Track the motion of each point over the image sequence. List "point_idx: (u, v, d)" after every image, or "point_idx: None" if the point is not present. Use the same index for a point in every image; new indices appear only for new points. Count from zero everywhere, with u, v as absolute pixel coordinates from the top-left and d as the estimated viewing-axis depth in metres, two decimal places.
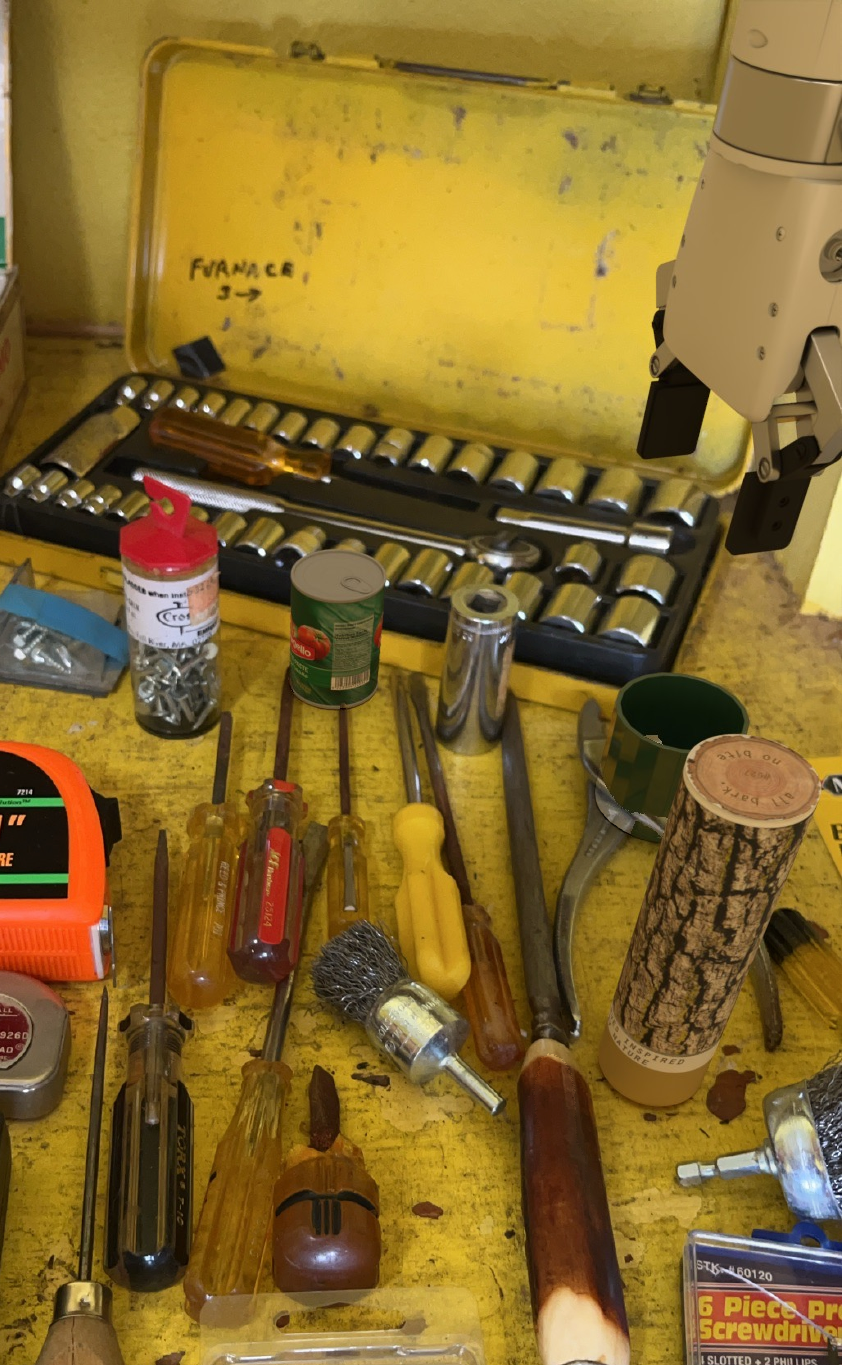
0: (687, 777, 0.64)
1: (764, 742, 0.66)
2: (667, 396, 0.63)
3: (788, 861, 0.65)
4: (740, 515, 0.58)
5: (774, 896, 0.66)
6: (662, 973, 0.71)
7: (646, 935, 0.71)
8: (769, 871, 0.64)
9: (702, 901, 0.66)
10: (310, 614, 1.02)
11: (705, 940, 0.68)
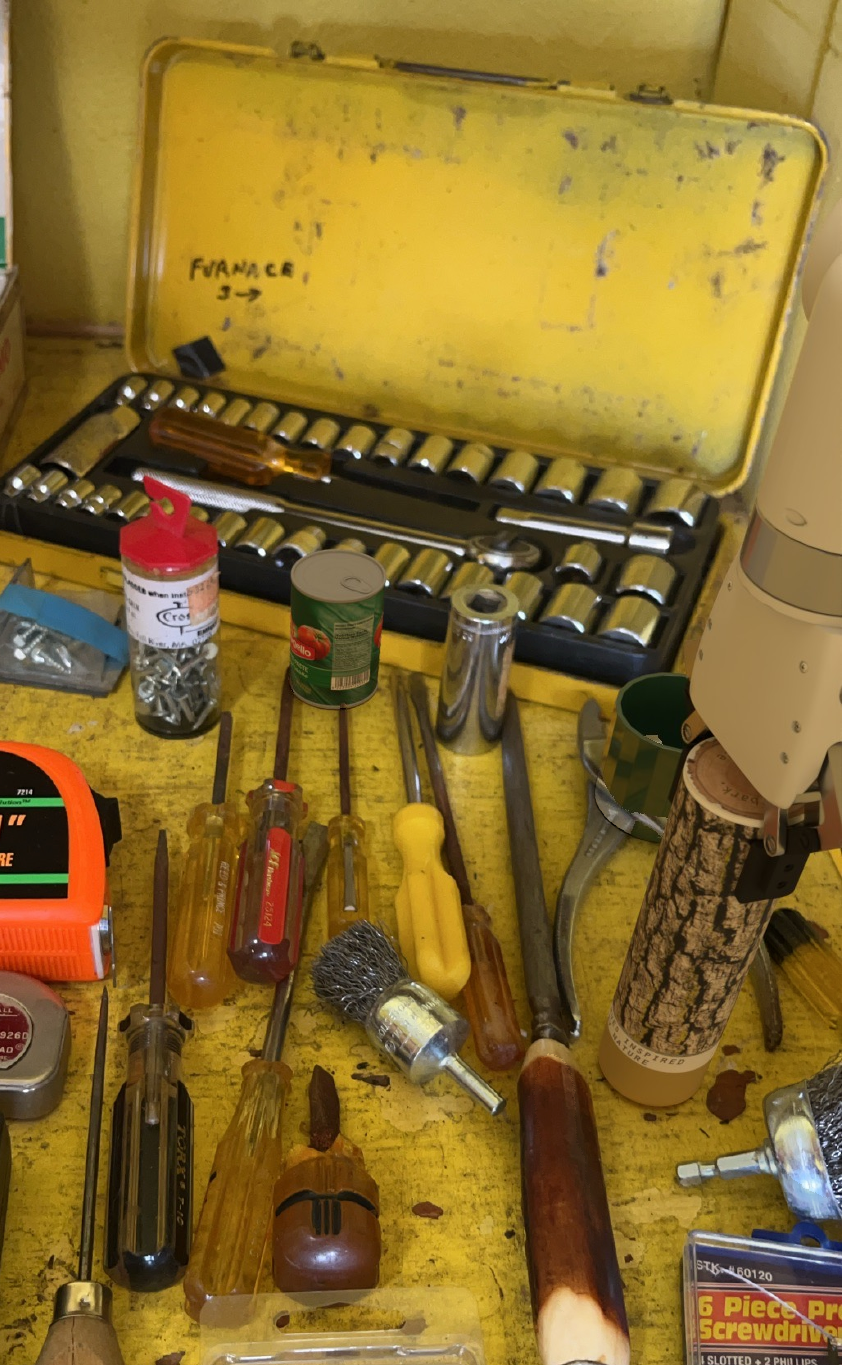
0: (687, 777, 0.64)
1: None
2: None
3: None
4: (748, 875, 0.63)
5: None
6: (662, 973, 0.71)
7: (646, 935, 0.71)
8: None
9: (702, 901, 0.66)
10: (310, 614, 1.02)
11: (705, 940, 0.68)
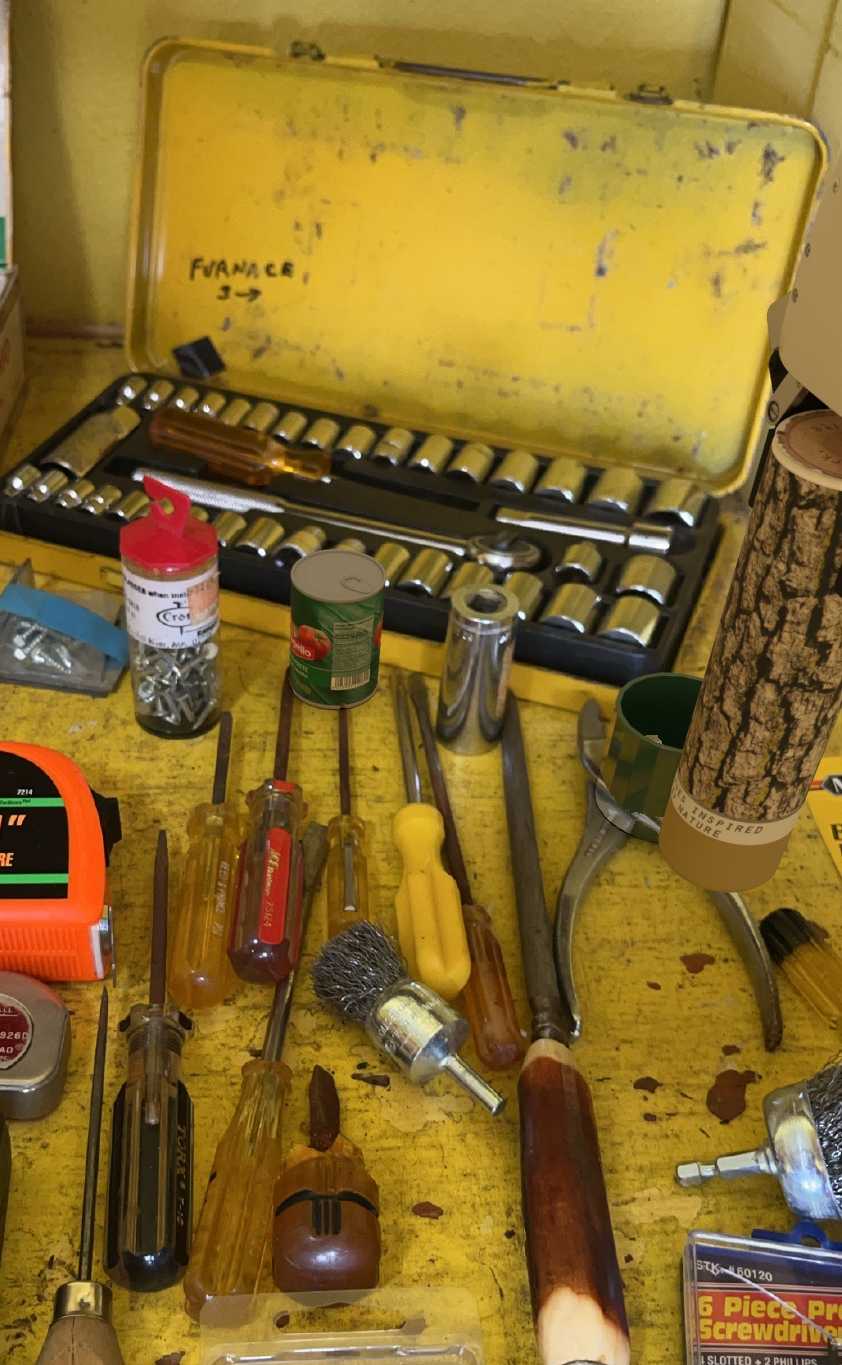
0: (778, 448, 0.54)
1: None
2: None
3: None
4: None
5: None
6: (740, 712, 0.61)
7: (722, 668, 0.61)
8: None
9: (794, 605, 0.57)
10: (310, 614, 1.02)
11: (795, 659, 0.58)
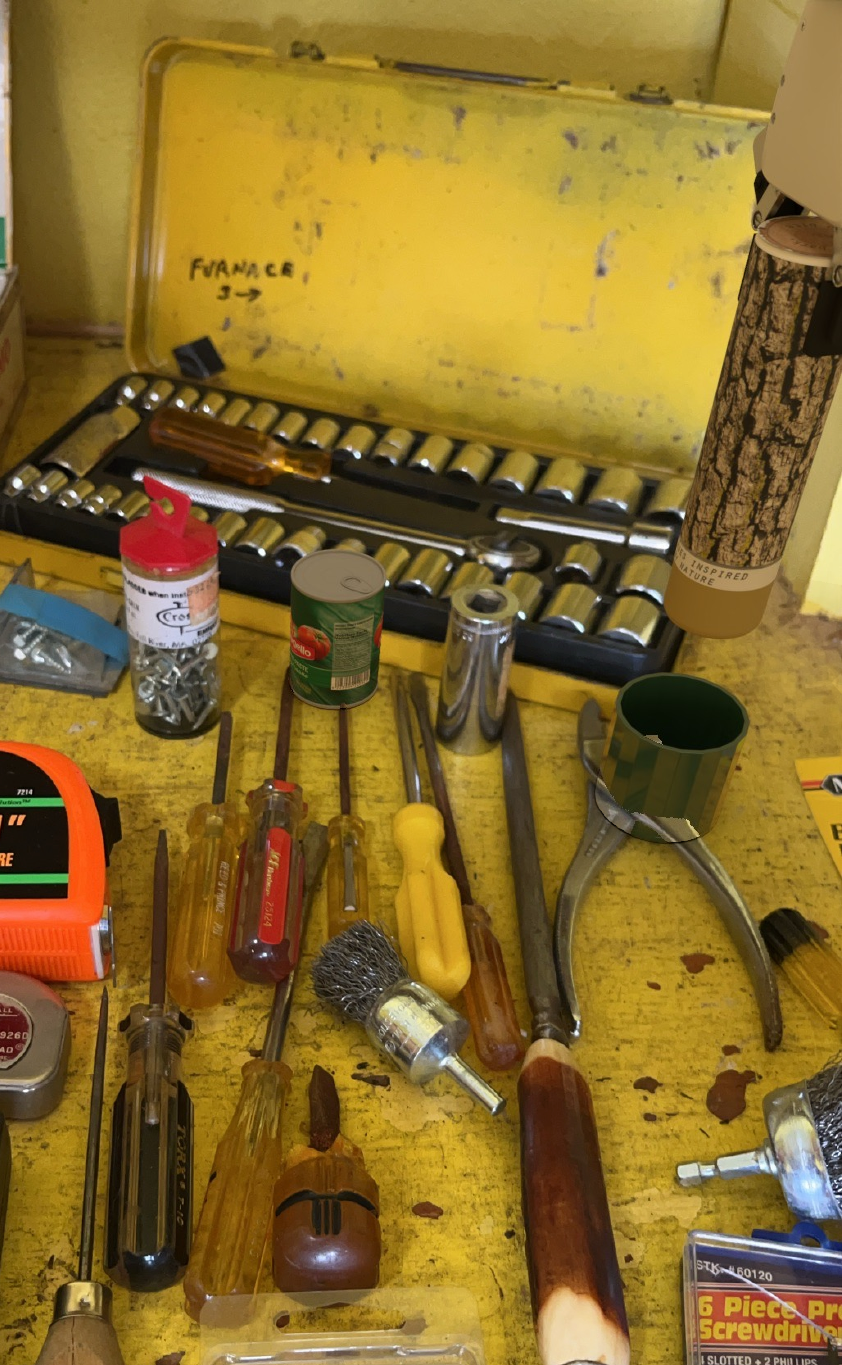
0: (759, 238, 0.70)
1: None
2: None
3: None
4: (817, 319, 0.69)
5: (837, 364, 0.73)
6: (730, 467, 0.77)
7: (715, 433, 0.77)
8: None
9: (771, 367, 0.72)
10: (310, 614, 1.02)
11: (773, 416, 0.74)
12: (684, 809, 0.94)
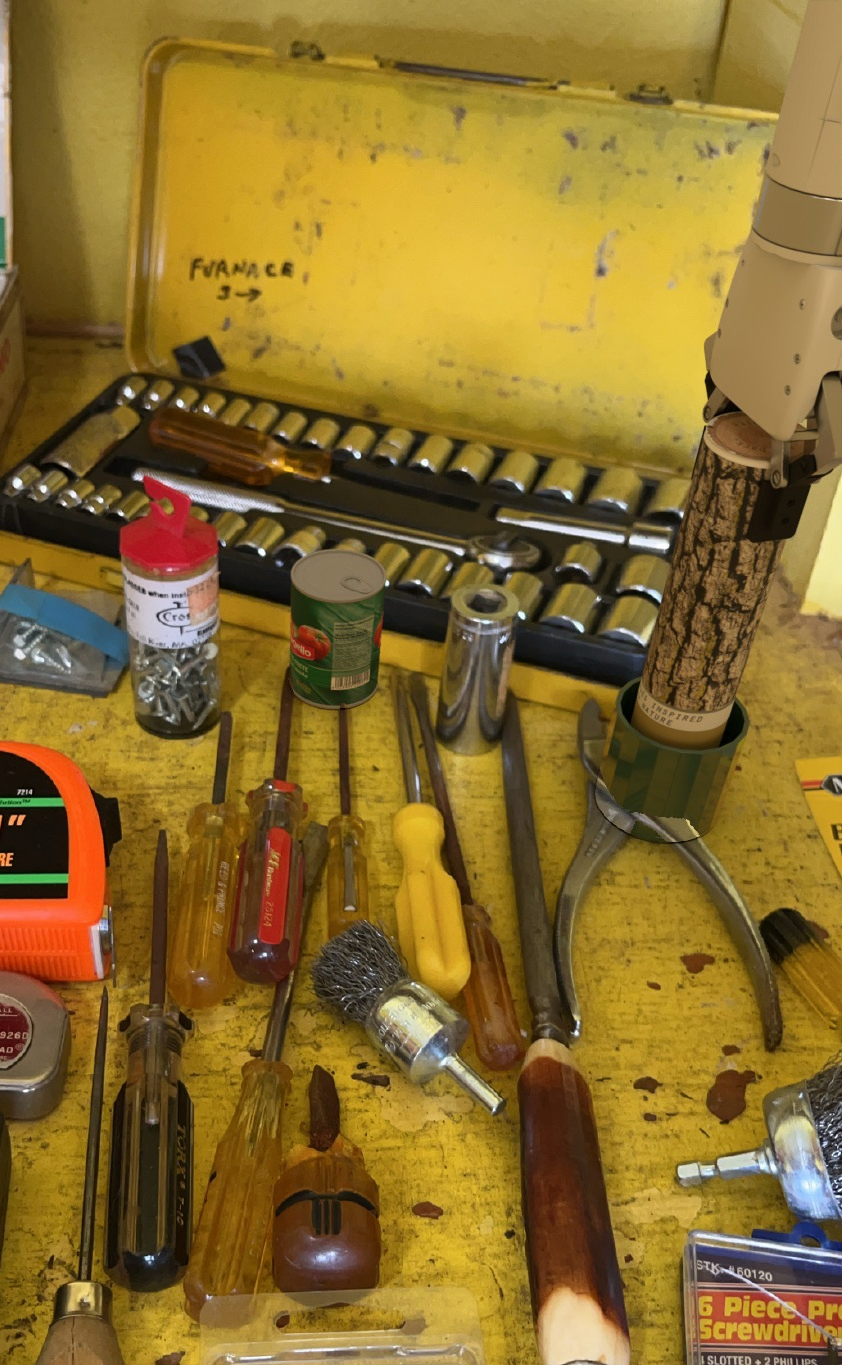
0: (707, 437, 0.78)
1: None
2: None
3: None
4: (758, 512, 0.78)
5: (778, 545, 0.81)
6: (684, 628, 0.86)
7: (671, 596, 0.86)
8: None
9: (719, 548, 0.81)
10: (310, 614, 1.02)
11: (721, 587, 0.83)
12: (684, 809, 0.94)
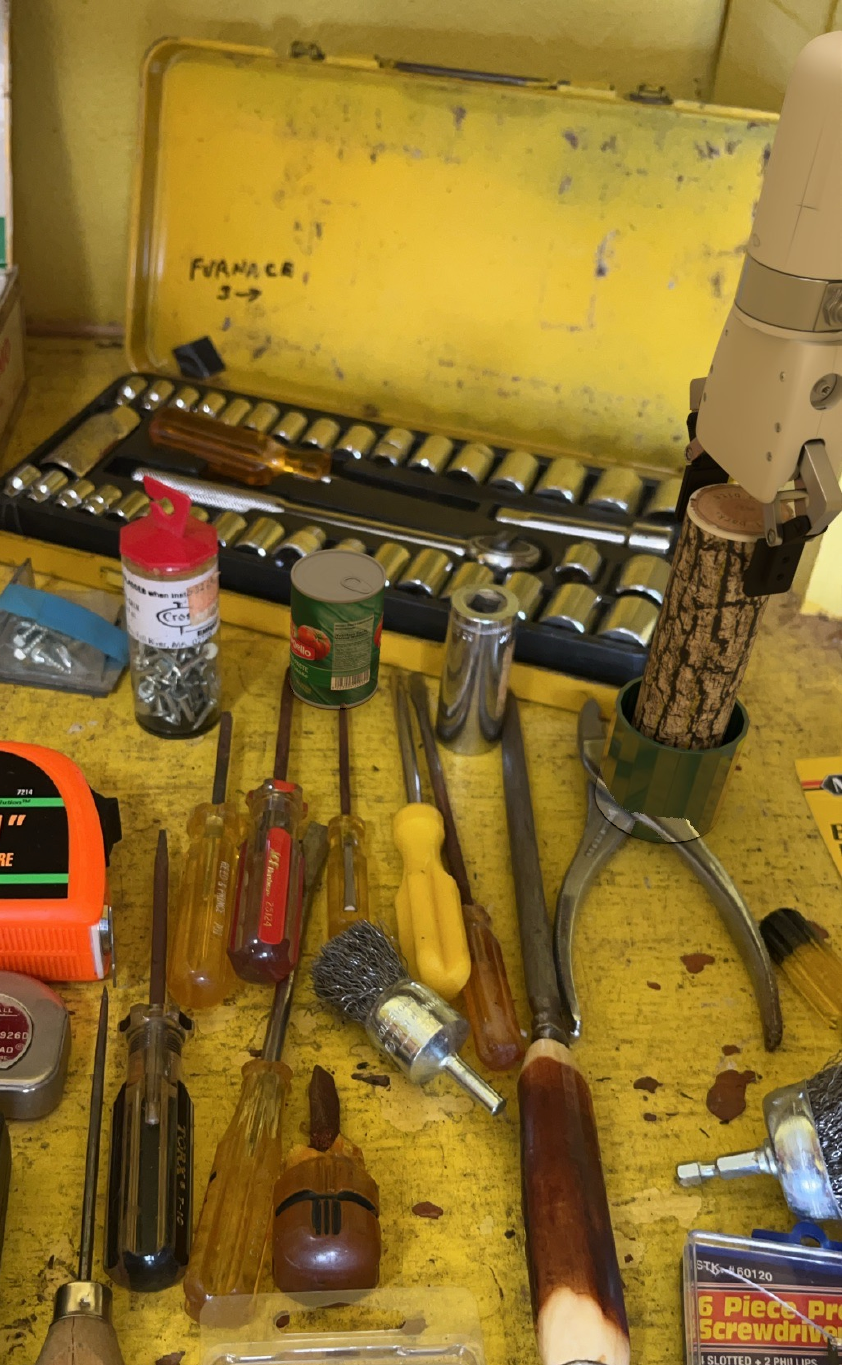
0: (690, 510, 0.82)
1: None
2: (698, 476, 0.85)
3: None
4: (753, 569, 0.79)
5: (758, 611, 0.85)
6: (669, 687, 0.89)
7: (657, 657, 0.89)
8: None
9: (702, 614, 0.84)
10: (310, 614, 1.02)
11: (704, 651, 0.86)
12: (684, 809, 0.94)
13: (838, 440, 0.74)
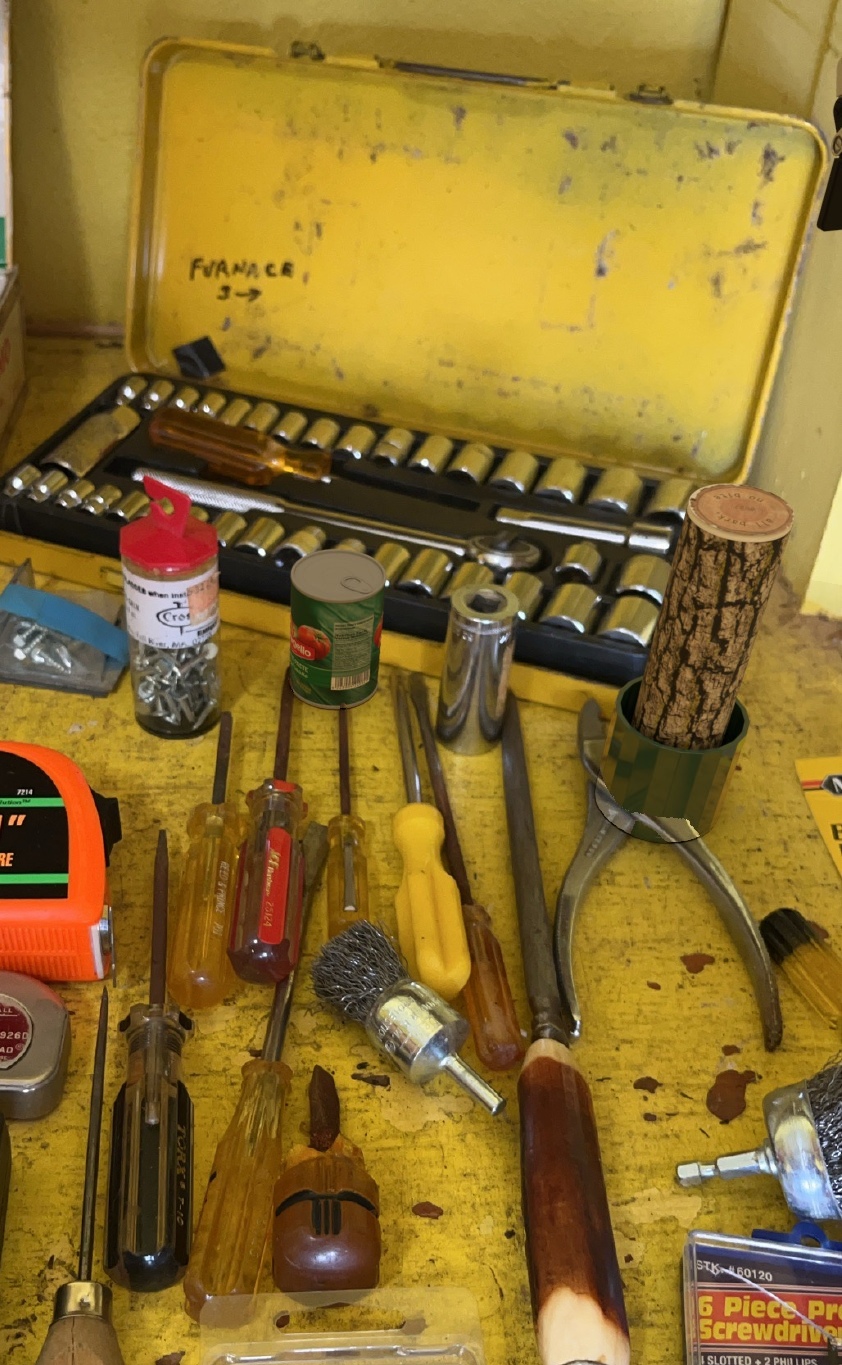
0: (690, 510, 0.82)
1: (750, 488, 0.84)
2: None
3: (769, 577, 0.83)
4: None
5: (758, 611, 0.85)
6: (669, 687, 0.89)
7: (657, 657, 0.89)
8: (753, 584, 0.82)
9: (702, 614, 0.84)
10: (310, 614, 1.02)
11: (704, 651, 0.86)
12: (684, 809, 0.94)
13: None
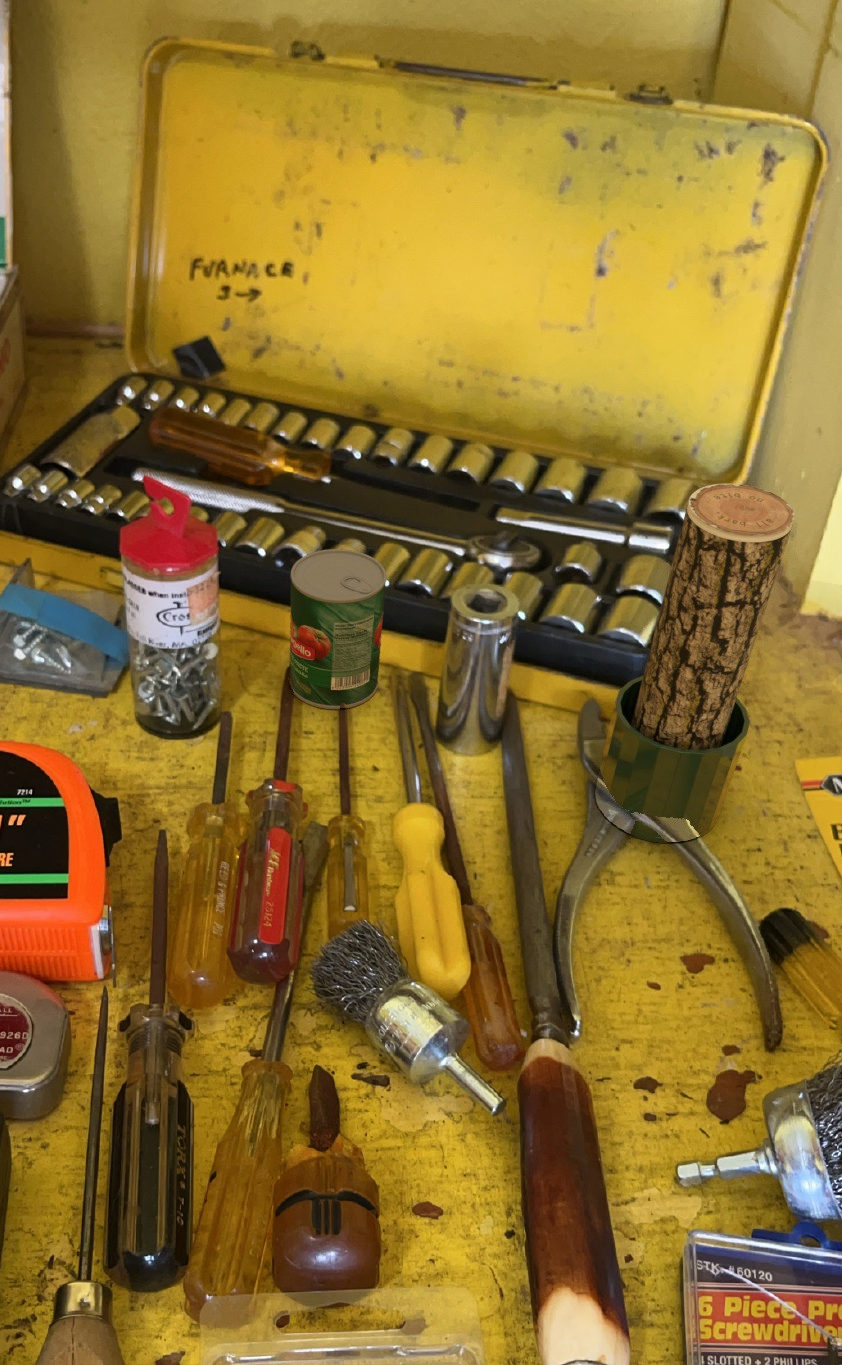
0: (690, 510, 0.82)
1: (750, 488, 0.84)
2: None
3: (769, 577, 0.83)
4: None
5: (758, 611, 0.85)
6: (669, 687, 0.89)
7: (657, 657, 0.89)
8: (753, 584, 0.82)
9: (702, 614, 0.84)
10: (310, 614, 1.02)
11: (704, 651, 0.86)
12: (684, 809, 0.94)
13: None
